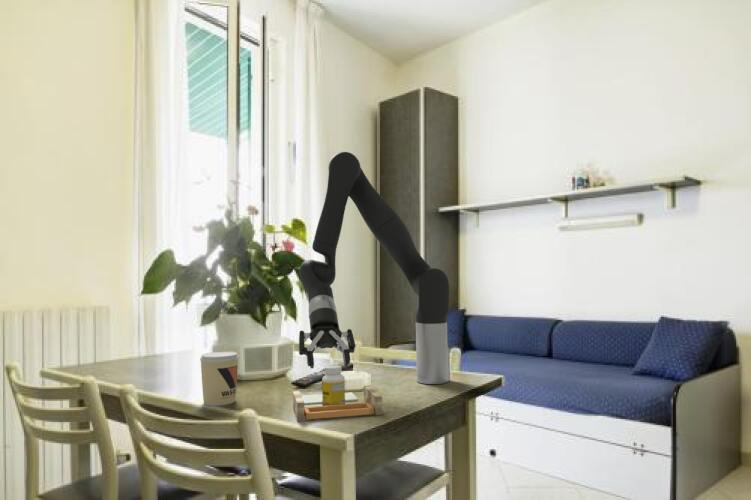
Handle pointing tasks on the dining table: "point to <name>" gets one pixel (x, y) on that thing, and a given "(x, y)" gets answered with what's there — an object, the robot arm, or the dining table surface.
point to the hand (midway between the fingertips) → (329, 365)
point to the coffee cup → (219, 377)
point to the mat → (318, 398)
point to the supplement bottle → (333, 386)
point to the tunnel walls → (369, 397)
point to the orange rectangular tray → (338, 411)
